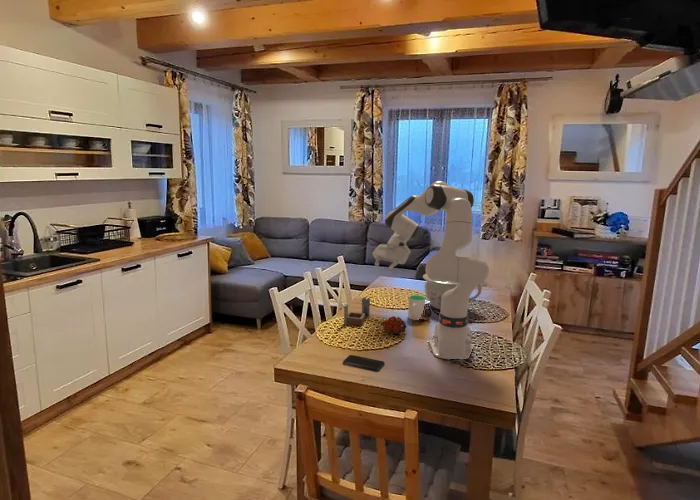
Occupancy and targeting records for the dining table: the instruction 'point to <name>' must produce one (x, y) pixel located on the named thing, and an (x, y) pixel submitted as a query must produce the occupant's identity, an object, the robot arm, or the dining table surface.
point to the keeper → (353, 317)
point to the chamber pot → (440, 291)
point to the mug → (416, 306)
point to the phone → (364, 363)
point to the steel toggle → (366, 306)
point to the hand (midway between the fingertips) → (383, 266)
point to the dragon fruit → (394, 325)
